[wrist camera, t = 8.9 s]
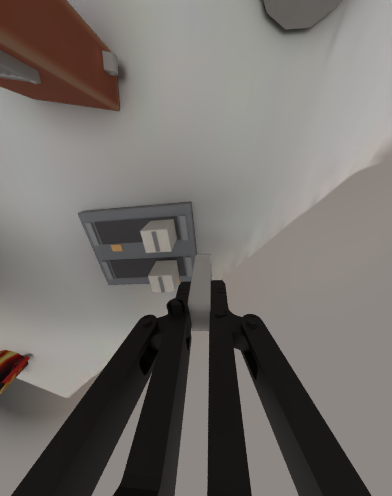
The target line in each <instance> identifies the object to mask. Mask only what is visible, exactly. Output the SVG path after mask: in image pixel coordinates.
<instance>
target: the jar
mask: <svg viewBox="0 0 392 496" xmlns="http://www.w3.org/2000/svg"><path fill="white" fill-rule="evenodd" d="M263 1H264V4H265V8H266V12H267V14H269V15H270V16H271V17H272V18H273V19H274V20H275V21H276V22H278V23H279V24H280V25H281V26H282V27H283V28H284V29H285V30H286V29H300V28H310V27H312V26H313V25H314V24H316V23H317V22H318V21H319V20H321V19H322V18H323V17H325V16H326V15H327V14H328V13H330V12H331V11H332V10H334V9H335V8H336V7H337V6H338V5H339V4H340V2H341V1H342V0H263Z"/></svg>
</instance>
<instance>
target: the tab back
mask: <svg viewBox="0 0 392 496" xmlns="http://www.w3.org/2000/svg"><path fill="white" fill-rule="evenodd" d="M148 278H149V281H150V285H151V288H152V292H153V293H159V292H175V290H176V286H177V282H178V278H179V271H178V265H177V260H166V261H156V262H155V264H154V266H153V268H152V270H151V272H150V273H149V275H148Z"/></svg>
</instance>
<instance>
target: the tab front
mask: <svg viewBox="0 0 392 496" xmlns="http://www.w3.org/2000/svg"><path fill="white" fill-rule="evenodd" d="M140 233H141V236H142V240H143V244H144V247H145V251H146V253H154V252H171V251H172V249H173V247H174V244H175V242H176V240H177V236H176V230H175V224H174V219H167V220H154V221H150V222H149V223H148V224H147V225H146V226H145V227H144V228H143V229H142V230H141V231H140Z"/></svg>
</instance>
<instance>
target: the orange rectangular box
mask: <svg viewBox="0 0 392 496" xmlns="http://www.w3.org/2000/svg"><path fill="white" fill-rule="evenodd" d="M117 76H119V74H118V60H117V56H116V55H115V54H113V53H112V52H111V51H110V50H109V49H108V48H107V46H106V45H105V44H104V43H103V42H102V41H101V40H100V38H99V37H98V36H97V35H96V34H95V33H94V31H93V30H92V29H91V28H90V27H89V26H88V25H87V23H86V22H85V21H84V20H83V19H82V18H81V16H80V15H79V14H78V13H77V12H76V11H75V10H74V8H73V7H72V6H71V5H70V4H69V3H68V1H67V0H0V87H3V88H5V89H8V90H11V91H13V92H16V93H19V94H21V95H24V96H27V97H29V98H32V99H38V100H45V101H52V102H59V103H66V104H73V105H80V106H87V107H94V108H101V109H108V110H115V111H119V109H120V108H119V95H118V81H117Z"/></svg>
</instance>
